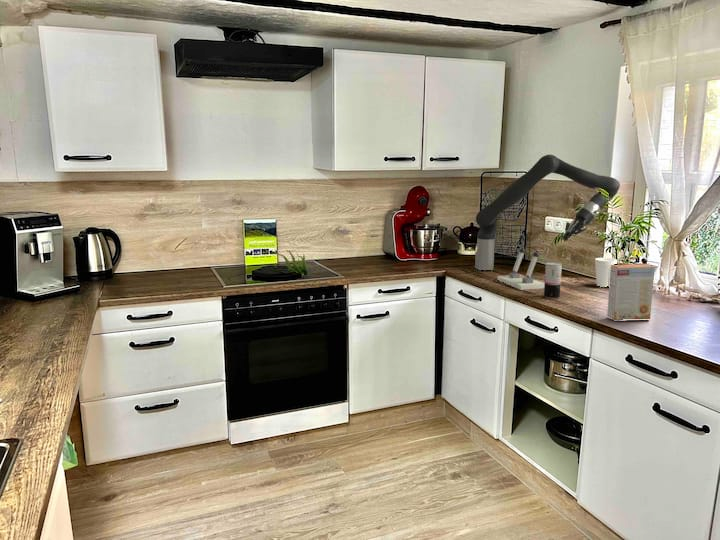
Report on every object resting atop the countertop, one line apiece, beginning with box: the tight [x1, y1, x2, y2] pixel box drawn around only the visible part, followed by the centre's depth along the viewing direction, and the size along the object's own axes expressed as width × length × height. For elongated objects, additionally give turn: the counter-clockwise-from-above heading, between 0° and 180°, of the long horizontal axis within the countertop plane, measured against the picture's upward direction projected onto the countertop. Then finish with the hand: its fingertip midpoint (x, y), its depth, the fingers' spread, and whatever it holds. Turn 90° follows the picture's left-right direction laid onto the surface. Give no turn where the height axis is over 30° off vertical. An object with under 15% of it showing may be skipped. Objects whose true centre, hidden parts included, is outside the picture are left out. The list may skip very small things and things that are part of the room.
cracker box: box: [606, 263, 656, 320], centre depth 203 cm, size 14×6×21 cm, turn 92°
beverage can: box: [543, 261, 562, 300], centre depth 238 cm, size 7×7×15 cm
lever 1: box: [511, 247, 526, 273], centre depth 269 cm, size 3×3×13 cm
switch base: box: [496, 272, 545, 291], centre depth 265 cm, size 13×22×4 cm, turn 15°
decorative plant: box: [272, 248, 308, 275], centre depth 293 cm, size 18×30×15 cm, turn 12°
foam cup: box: [594, 257, 618, 288], centre depth 257 cm, size 10×9×13 cm
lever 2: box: [524, 251, 540, 278], centre depth 258 cm, size 3×3×13 cm
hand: (563, 239), depth 260 cm, fingers closed
